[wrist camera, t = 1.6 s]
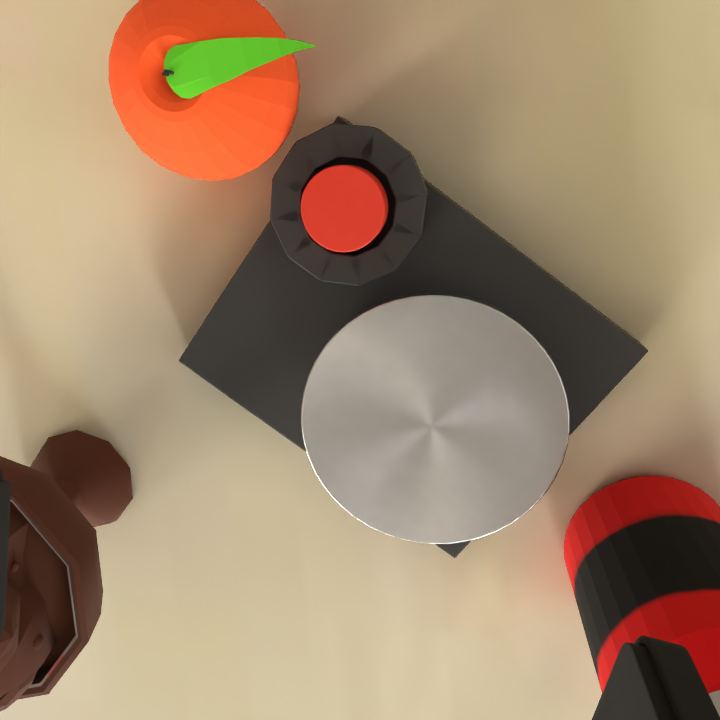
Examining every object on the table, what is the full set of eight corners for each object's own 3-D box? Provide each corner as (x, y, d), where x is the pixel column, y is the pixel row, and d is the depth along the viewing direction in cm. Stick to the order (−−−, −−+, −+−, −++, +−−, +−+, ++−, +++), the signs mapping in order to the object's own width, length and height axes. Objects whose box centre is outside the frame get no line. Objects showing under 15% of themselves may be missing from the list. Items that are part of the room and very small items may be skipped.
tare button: (293, 215, 27) (284, 218, 25) (338, 147, 26) (331, 147, 24) (357, 263, 27) (352, 268, 25) (404, 197, 26) (402, 199, 24)
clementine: (314, -29, 26) (267, -94, 20) (358, 148, 28) (329, 143, 21) (135, 32, 28) (34, -9, 21) (187, 196, 30) (109, 206, 23)
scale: (180, 346, 32) (153, 364, 29) (340, 98, 28) (327, 90, 25) (454, 542, 33) (455, 579, 30) (649, 332, 29) (670, 351, 26)
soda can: (762, 510, 30) (948, 720, 19) (678, 634, 33) (799, 888, 21) (608, 447, 30) (701, 618, 19) (535, 575, 33) (580, 796, 21)
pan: (256, 437, 29) (251, 445, 29) (405, 235, 26) (404, 237, 25) (455, 579, 30) (455, 589, 29) (624, 399, 27) (629, 406, 26)
